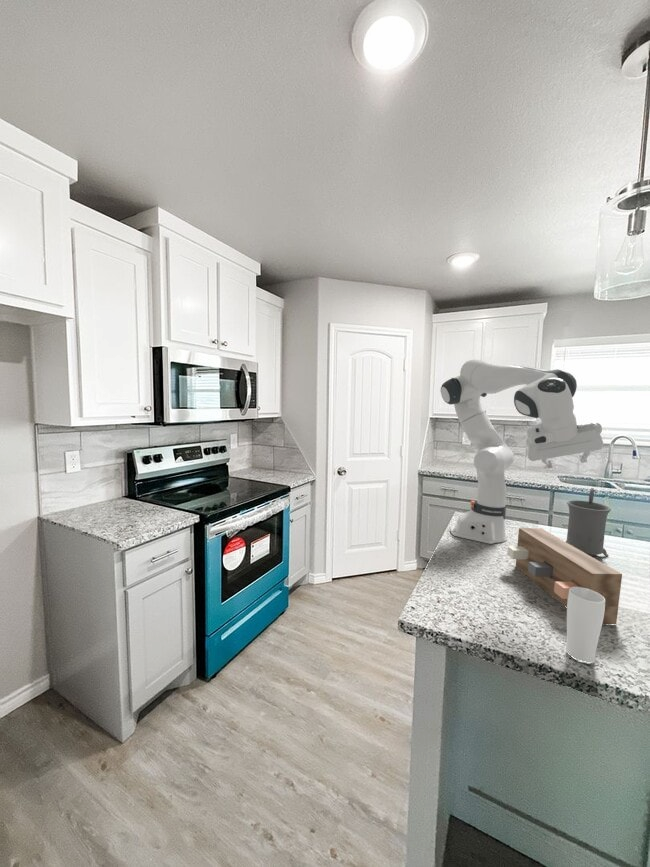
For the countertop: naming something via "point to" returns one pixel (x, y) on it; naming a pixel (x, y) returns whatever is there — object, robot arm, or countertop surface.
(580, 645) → the drinking glass
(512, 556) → the cream key
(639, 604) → the countertop surface
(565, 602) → the console
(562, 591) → the terracotta key
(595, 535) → the grey footed pot
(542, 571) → the charcoal key
